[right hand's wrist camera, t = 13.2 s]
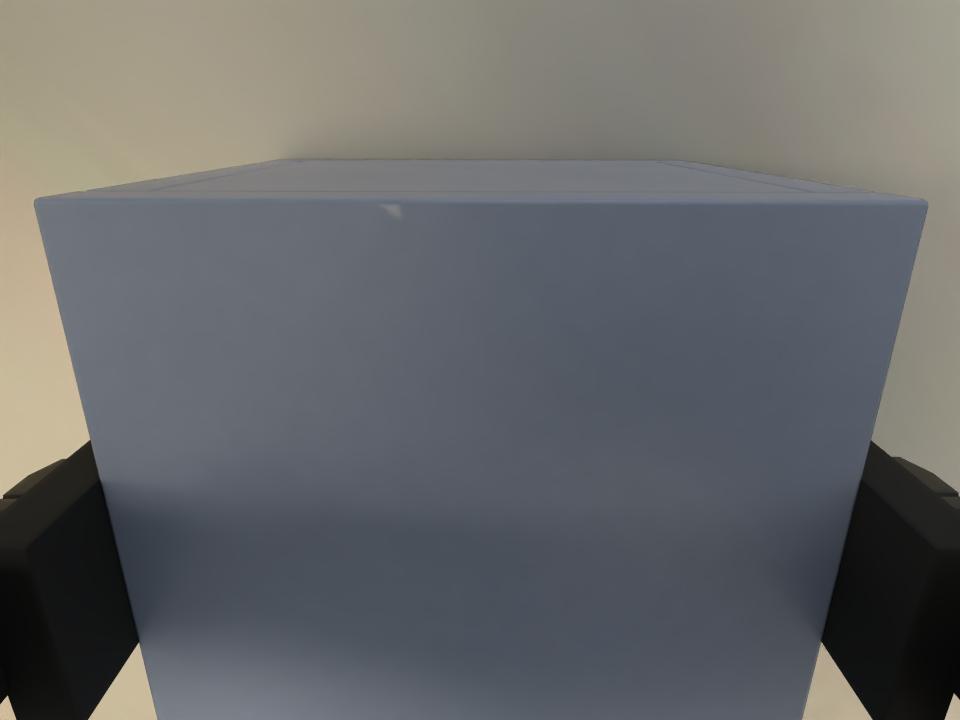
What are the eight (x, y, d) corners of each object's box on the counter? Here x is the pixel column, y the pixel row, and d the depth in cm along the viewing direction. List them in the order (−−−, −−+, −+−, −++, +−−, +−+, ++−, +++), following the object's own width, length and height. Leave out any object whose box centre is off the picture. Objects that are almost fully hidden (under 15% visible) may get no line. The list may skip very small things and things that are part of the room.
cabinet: (617, 759, 22) (700, 1140, 14) (340, 759, 22) (257, 1140, 14) (682, 159, 15) (933, 199, 7) (277, 159, 15) (29, 197, 7)
